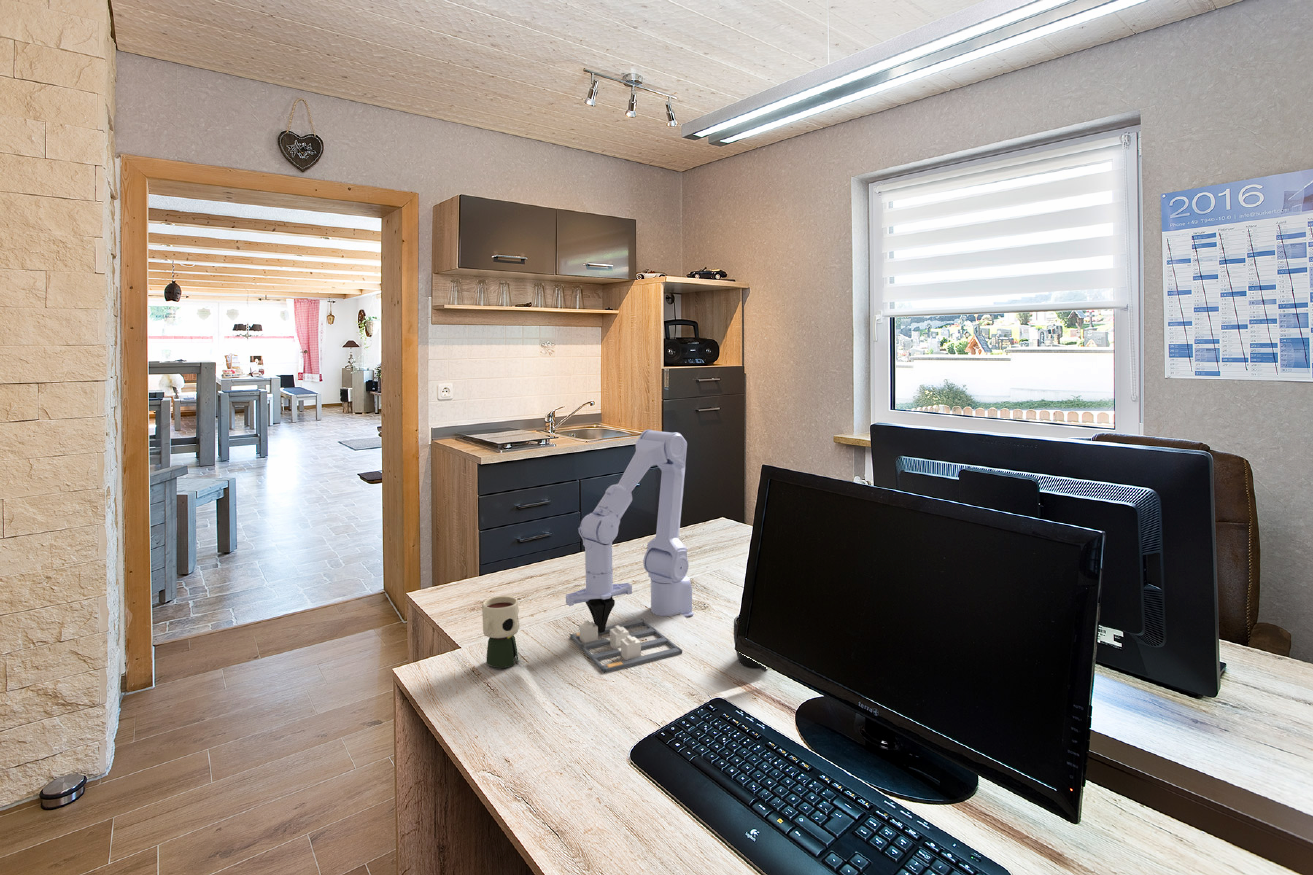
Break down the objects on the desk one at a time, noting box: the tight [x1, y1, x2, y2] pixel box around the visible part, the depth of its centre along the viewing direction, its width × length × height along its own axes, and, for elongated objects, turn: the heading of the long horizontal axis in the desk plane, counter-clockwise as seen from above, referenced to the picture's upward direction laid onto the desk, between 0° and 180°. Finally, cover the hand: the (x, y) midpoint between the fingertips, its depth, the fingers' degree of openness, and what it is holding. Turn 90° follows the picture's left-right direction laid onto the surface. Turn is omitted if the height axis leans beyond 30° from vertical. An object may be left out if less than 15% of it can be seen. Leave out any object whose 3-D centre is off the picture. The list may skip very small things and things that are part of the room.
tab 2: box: [609, 624, 630, 649], centre depth 141 cm, size 3×3×4 cm
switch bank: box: [569, 618, 683, 674], centre depth 141 cm, size 17×18×2 cm
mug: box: [733, 615, 768, 672], centre depth 135 cm, size 8×12×10 cm
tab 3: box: [620, 635, 642, 660], centre depth 136 cm, size 3×3×4 cm
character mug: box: [481, 595, 520, 669], centre depth 135 cm, size 11×7×13 cm, turn 158°
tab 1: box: [578, 620, 599, 644], centre depth 143 cm, size 3×3×4 cm
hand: (600, 630), depth 144 cm, fingers closed
